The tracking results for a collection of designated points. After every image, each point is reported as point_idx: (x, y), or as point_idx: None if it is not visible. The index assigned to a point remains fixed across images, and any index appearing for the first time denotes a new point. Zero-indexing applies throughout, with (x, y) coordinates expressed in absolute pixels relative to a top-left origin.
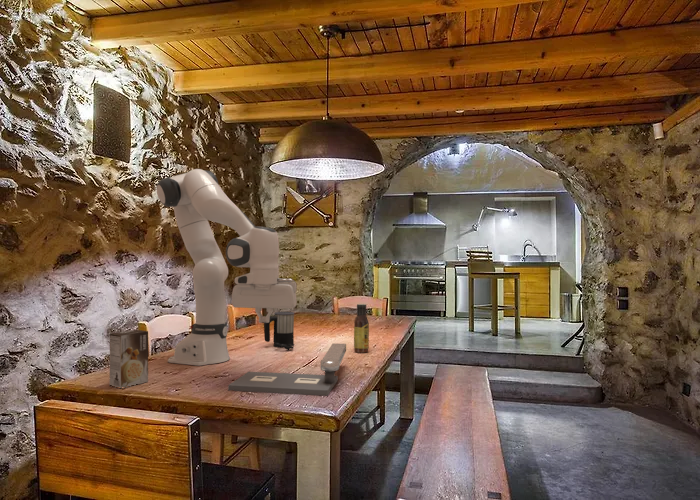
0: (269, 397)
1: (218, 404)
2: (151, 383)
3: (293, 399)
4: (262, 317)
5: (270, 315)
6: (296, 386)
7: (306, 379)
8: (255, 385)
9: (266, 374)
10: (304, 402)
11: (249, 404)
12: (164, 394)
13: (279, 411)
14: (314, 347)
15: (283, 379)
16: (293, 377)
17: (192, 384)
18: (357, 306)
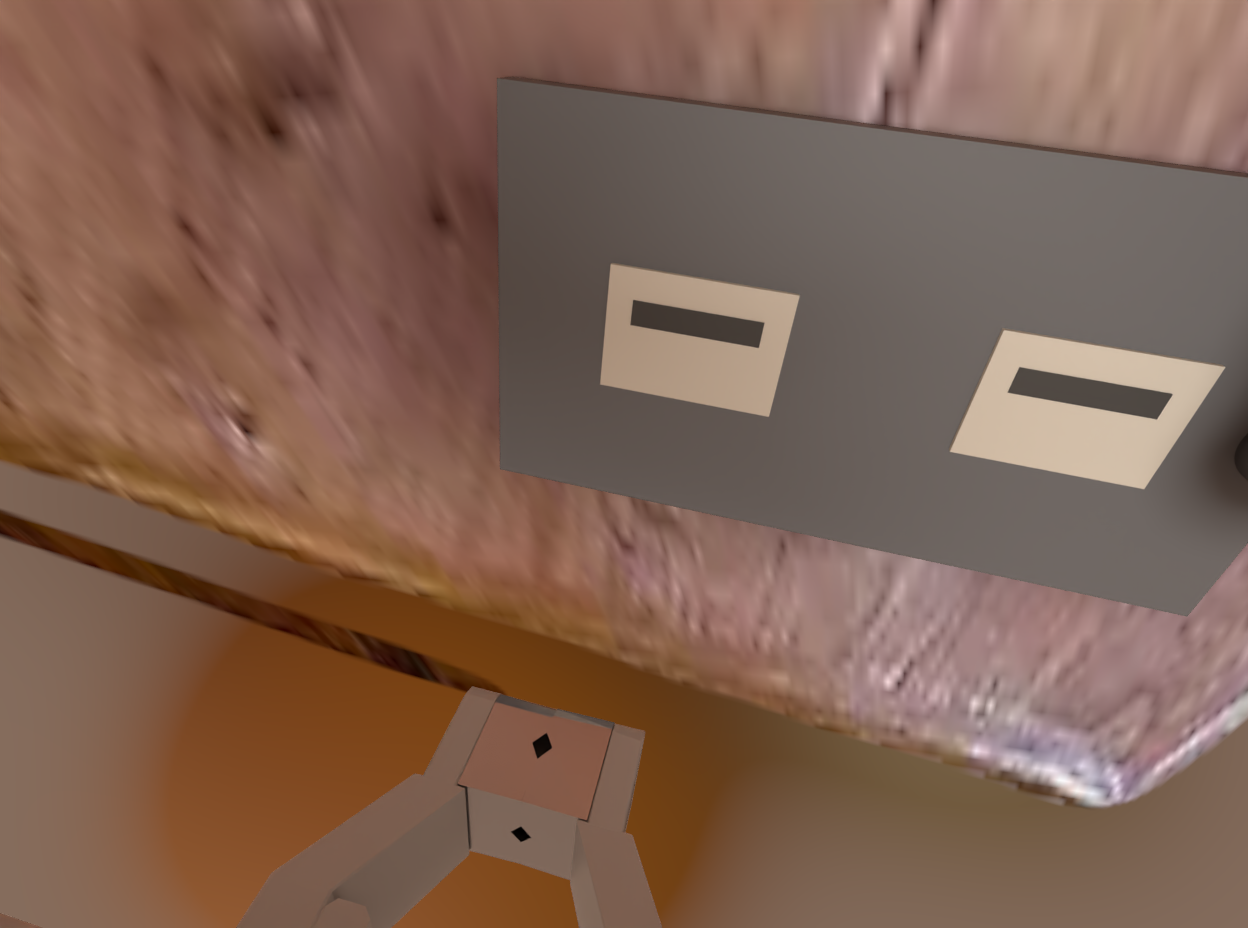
0: (780, 578)
1: (554, 633)
2: (27, 304)
3: (924, 619)
4: (508, 855)
5: (640, 868)
6: (962, 524)
7: (1076, 381)
8: (668, 483)
9: (690, 190)
10: (986, 663)
11: (694, 650)
12: (243, 491)
13: (848, 735)
14: None
15: (861, 352)
16: (957, 292)
17: (247, 327)
18: None
